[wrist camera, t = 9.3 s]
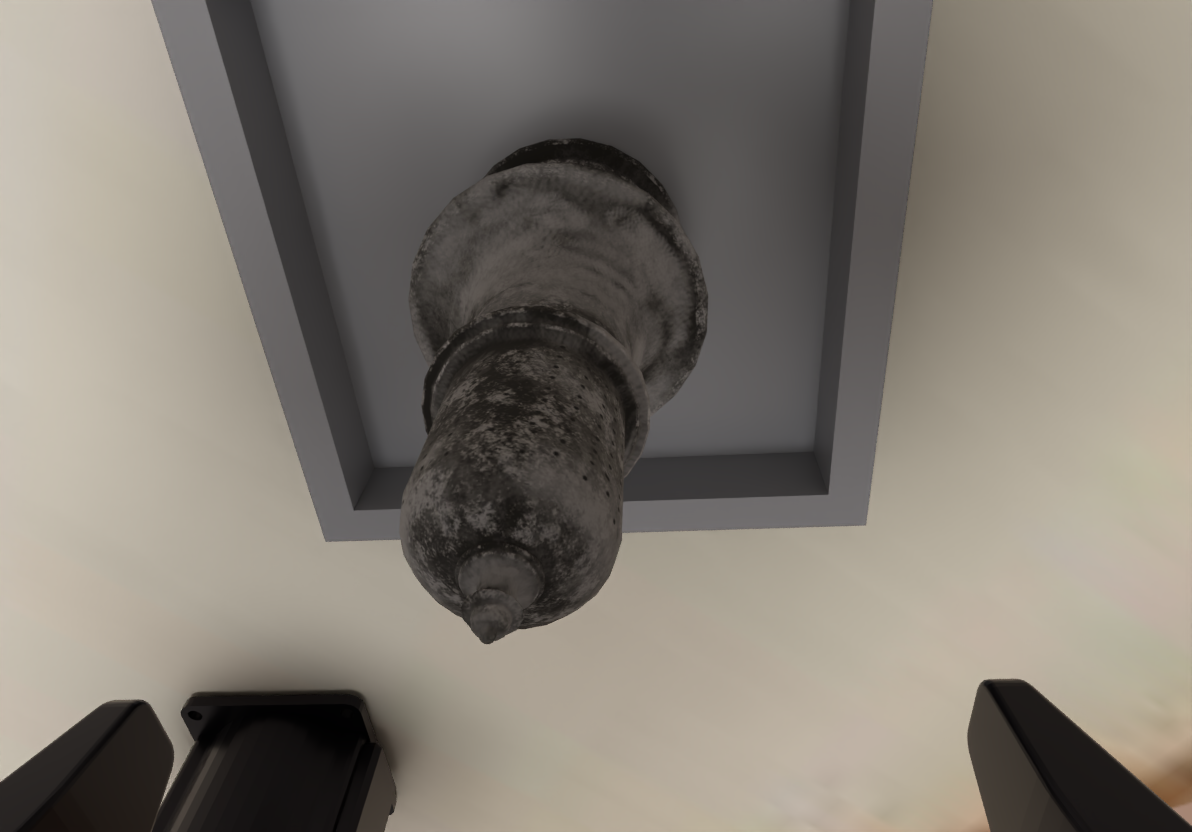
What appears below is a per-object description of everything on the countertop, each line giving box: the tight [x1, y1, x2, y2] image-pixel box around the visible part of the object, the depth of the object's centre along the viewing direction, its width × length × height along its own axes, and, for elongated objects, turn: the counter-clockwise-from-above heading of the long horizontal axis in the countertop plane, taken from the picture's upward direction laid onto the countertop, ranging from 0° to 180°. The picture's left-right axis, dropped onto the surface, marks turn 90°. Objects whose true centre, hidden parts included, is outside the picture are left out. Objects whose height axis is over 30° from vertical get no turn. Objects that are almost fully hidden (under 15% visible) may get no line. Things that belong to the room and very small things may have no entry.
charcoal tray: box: [151, 0, 933, 542], centre depth 18 cm, size 14×14×2 cm
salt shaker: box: [399, 138, 708, 644], centre depth 14 cm, size 6×6×12 cm
